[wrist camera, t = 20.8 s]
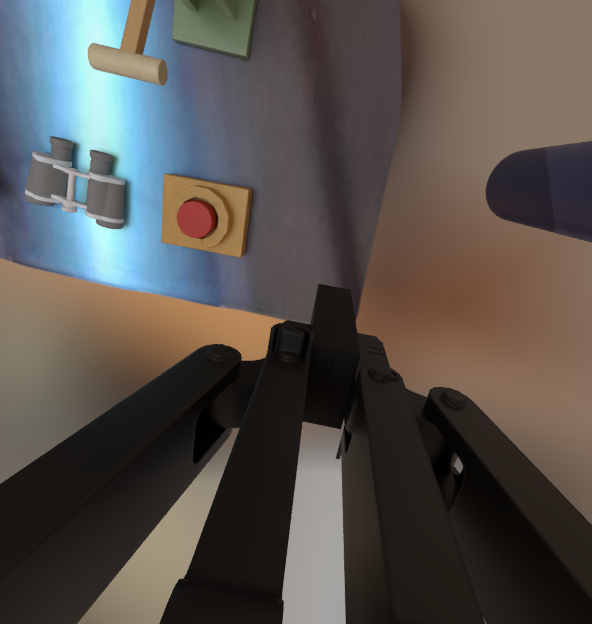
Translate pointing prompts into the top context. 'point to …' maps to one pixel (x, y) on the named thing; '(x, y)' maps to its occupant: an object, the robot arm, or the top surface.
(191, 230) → the button
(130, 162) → the top surface
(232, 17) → the rod bracket
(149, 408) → the robot arm
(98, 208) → the binoculars
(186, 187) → the button block
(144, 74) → the kicker arm
